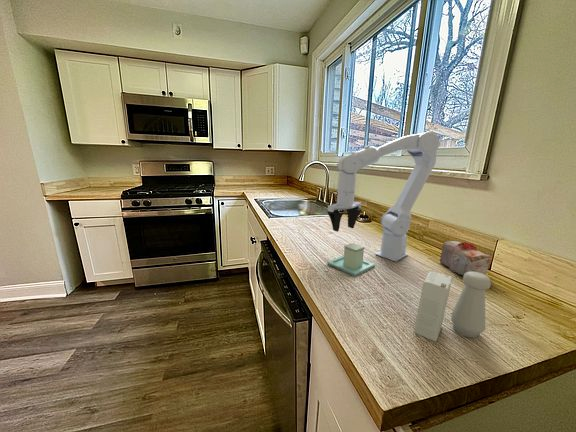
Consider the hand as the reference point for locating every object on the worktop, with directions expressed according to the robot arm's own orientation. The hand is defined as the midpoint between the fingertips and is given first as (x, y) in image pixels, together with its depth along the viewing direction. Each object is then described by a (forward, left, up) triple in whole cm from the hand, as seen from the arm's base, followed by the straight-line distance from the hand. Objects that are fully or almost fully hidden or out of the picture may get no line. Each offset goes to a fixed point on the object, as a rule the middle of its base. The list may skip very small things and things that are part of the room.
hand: (343, 229), depth 85 cm
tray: (+4, +7, -10) cm, 13 cm away
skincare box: (+17, +36, -11) cm, 41 cm away
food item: (-21, +32, -11) cm, 40 cm away
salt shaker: (+11, +41, -11) cm, 44 cm away
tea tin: (+4, +8, -10) cm, 13 cm away
